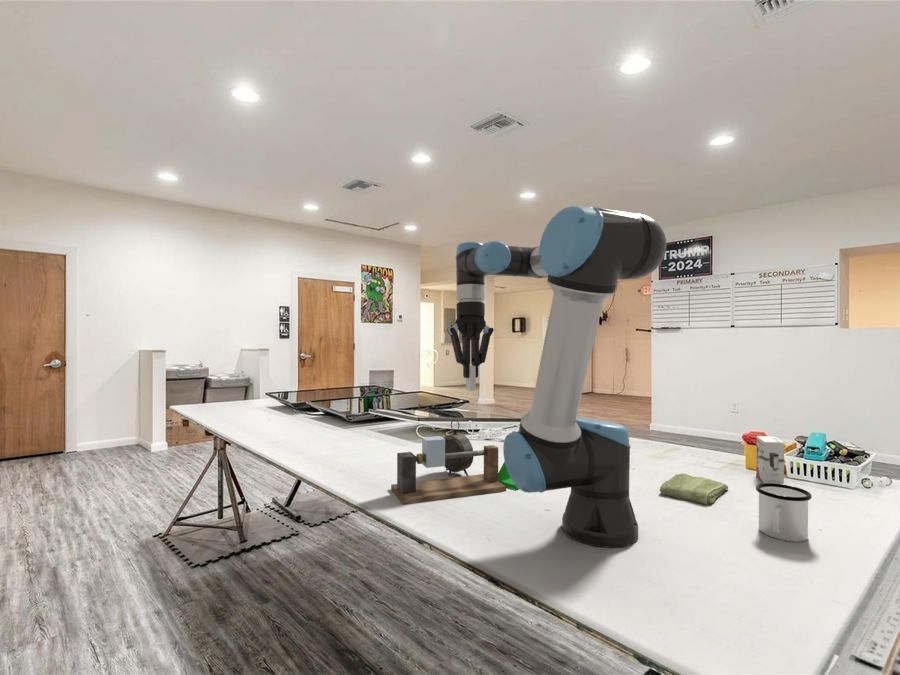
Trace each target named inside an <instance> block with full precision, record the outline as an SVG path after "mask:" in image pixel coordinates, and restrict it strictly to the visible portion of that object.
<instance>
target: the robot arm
mask: <svg viewBox="0 0 900 675" xmlns="http://www.w3.org/2000/svg"><path fill="white" fill-rule="evenodd" d="M666 251H667V238H666V234H665V232H664V230H663V228H662V227H661V225H660V224H659V223H658V222H657V221H656V220H654V219H653V218H652V217H650V216H648V215H645V214H642V213H640V212H639V213H638V212H629V211H622V210H614V209H610V208H609V209H608V208H599V207H596V206H595V207H594V206H592V205H590V206H585V205H584V206H582V205H581V206H579V205H574V206H573V205H571V206H568V207H565V208H562V209H560V210H559V211H558V212H557V213H555V215H554V216H553V217H552V218H550V219H549V221H548V223H547V224H546V226H545V228H544V231H543V232H542V235H541V238H540V242H539V246H531V247H528V246H527V247H525V246H515V245H514V246H513V245H507V244H505V243H503V242H502V241H499V240H494V241H487V242H484V243H481V242H477V241H467V242H462V243H461V242H460V243H459V244H458V245H457V246H456V256H455V260H456V262H455V264H456V269H455V270H456V301H458V302H456V319H455V321H454V324H453V325H452V326H451V327H447V328H446V331H447V333H448V335H449V336H450V339H451V340H450V341H451V344H452V349H453V353H454V357H455V361H456V363H457V364H460V365H461V366H462V369H463V372H462V373H463V374H462V375H463V379H465V380H466V381H465V384H466V385H465V390H466V391H469V392H472V391H473V392H474V391H477V390H476V383H477V382H476V379H477V378H479V366H480V365H481V364H484V363H485V362H486V359H487V354H488V349H489V344H490V340H491V336H492V334H493V332H494V331H495V330H494V328H493V327H490V326H488V325H487V322H486V320H485V314H486V313H485V306H486V304H485V303H484V302H483V301H485V299H486V295H485V294H486V293H485V290H486V289H485V287H486V286H485V284H486V283H485V279H486V278H485V277H487V276H500V277H501V276H503V277H505V276H506V277H523V278H534V279H547V280H546V283H547V285H548V286H549V287H550V289H551V290H552V292H553V295H552V301H551V304H550V305H551V306H550V310H549V315H548V321H547V326H546V331H545V336H544V342H543V345H542V350H541V355H540V356H541V357H540V360H539V366H538V371H537V372H538V373H537V378H536V381H535V385H534V386H535V387H534V392H533V397H532V402H531V408H530V411H528V412H526V413H524V414H522V416H521V418H520V422H519V427H518V430H517V431H515V430H513V431H512V432H510V433H508V434H507V435H506V436H505V438H504V440H503V441H504V442H503V449H502V450H503V452H502V453H503V459H504V461H505V464H506V467H507V471H508V473H509V476H510V478H511V479H512V481H513V483H514V484H515V485H516V486H517V487H518V488H519V490H520V491H522V492H524V493H544V492H546V491H547V492H548V491H554V490H555V491H556V490H560V489H561V490H562V489H568V488H570V494H569V496H568V499H567V503H566V506H565V510H564V512H563V514H562V518H561V529H562V531H563V533H564V534H566V536H568V537H569V538H571V539H573V540H575V541H577V542H580V543H583V544H587V545H590V546H596V547H604V548H605V547H606V548H621V547H627V546H630V545H632V544H635V543H636V542H637V541H638V539H639V523H638V520H637V519H636V514H635V511H634V509H633V506H632V505H633V504H632V501H631V499H630V468H631V466H630V465H631V464H630V459H631V458H630V456H631V445H630V433H629V430H628V429H627V427H626V426H624V425H622V424H620V423H616V422H612V421H607V420H606V421H605V420H600V419H594V418H593V419H592V418H585V417H578V412H579V409H580V408H579V407H580V403H581V400H582V399H581V398H582V395H583V390H584V387H585V381H586V379H587V378H586V376H587V374H588V368H589V364H590V360H591V357H592V355H591V354H592V353H593V352H592V351H593V346H594V342H595V338H596V334H597V330H598V325H599V321H600V317H601V311H602V308H603V303H604V301H605V300H606V299H608V298H609V297H611V296H613V295H615V292H616V290H617V289H616V288H617V284H618V280H637V279H640V278H644V277H647V276H648V275H650V274H652V273H653V272H654V271H656V270H657V269H658V268H659V266H660V265H661V264H662V262H663V260H664V258H665V255H666ZM458 333H460V335H461V340H460V337H459V334H458ZM481 333H482V335H481ZM480 335H481V336H482V337H481V336H480ZM461 341H462V345H461Z"/></svg>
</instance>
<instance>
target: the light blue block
mask: <svg viewBox="0 0 900 675" xmlns="http://www.w3.org/2000/svg"><path fill="white" fill-rule="evenodd" d="M421 454H422V456H425V455H426V461H423V463H422V464H421V465H423V466H424V467H425V468H426V469H432V468H440V467H444V466H445V439H444V438H443V437H442V436H440V435H438V436H425V437H424V436H423V437H421Z"/></svg>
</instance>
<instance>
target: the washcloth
mask: <svg viewBox="0 0 900 675" xmlns="http://www.w3.org/2000/svg"><path fill="white" fill-rule="evenodd" d="M726 490H729V486H728V485H727V484H726V483H724V482H721V481H716V480H713V479H711V478H706V477H703V476H693V475H690V474H687V473H684V472H683V473H682V472H681V473H677V474H675V475H673V477H671V478H669V479H668V480H665V481H664V482H663V483H662V484H661V485H660V488H659V492H660V494H661V495H663V496H669V497H673V498H676V499H683V500H687V501H691V502H694V503H696V504H697V503H698V504H702V505H710V504H713V503H715V502H716V500H717V499H718V498H719V497H720V496H721V495H722V494H723V493H724V492H725V491H726ZM716 498H717V499H716Z"/></svg>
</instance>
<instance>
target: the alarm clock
mask: <svg viewBox="0 0 900 675" xmlns="http://www.w3.org/2000/svg"><path fill="white" fill-rule="evenodd" d="M453 422H457V424H458V427H457V428H454V427H453V426H452V424H453ZM450 428H451V430H452V431H453V433H451V434H447V435H445V436H443V437H442V438H444V439H445V454H446V453H457V452H467V451H474V448H473V446H472V443H471V441H470V439H469V438H468V437H467V436H466V435H464V434H463V433H461V432H457V431H458V430H460V422H459V421H458V420H457V419H453V420H451V422H450ZM474 457H475V456H471V457H461V458H451V459H445V466H443V467H444V468H445V470H446V471H448V477H450V476H451V474H452V473H459V472H462V471H463V472H464V474H465V476H469V473H468V471H467V470H468V469H469V468H470V467H471V466H472V464H473V462H474Z"/></svg>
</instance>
